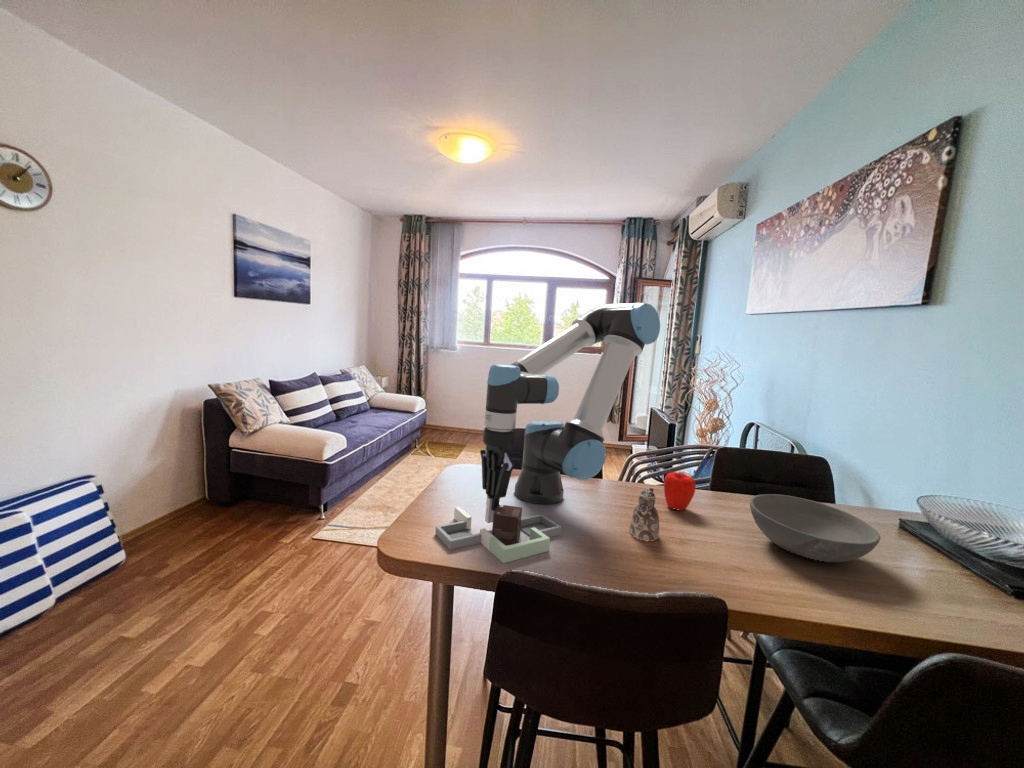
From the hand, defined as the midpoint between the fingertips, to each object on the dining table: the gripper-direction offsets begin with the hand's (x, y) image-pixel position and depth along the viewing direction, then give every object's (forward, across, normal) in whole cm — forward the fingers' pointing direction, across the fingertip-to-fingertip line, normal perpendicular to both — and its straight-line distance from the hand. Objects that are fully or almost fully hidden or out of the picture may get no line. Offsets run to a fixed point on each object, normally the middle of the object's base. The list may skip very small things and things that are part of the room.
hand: (491, 521), depth 104 cm
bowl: (+1, +42, +67) cm, 79 cm away
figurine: (+2, +18, +35) cm, 39 cm away
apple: (+2, +10, +60) cm, 60 cm away
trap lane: (+2, +3, 0) cm, 4 cm away
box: (+2, +7, 0) cm, 7 cm away
